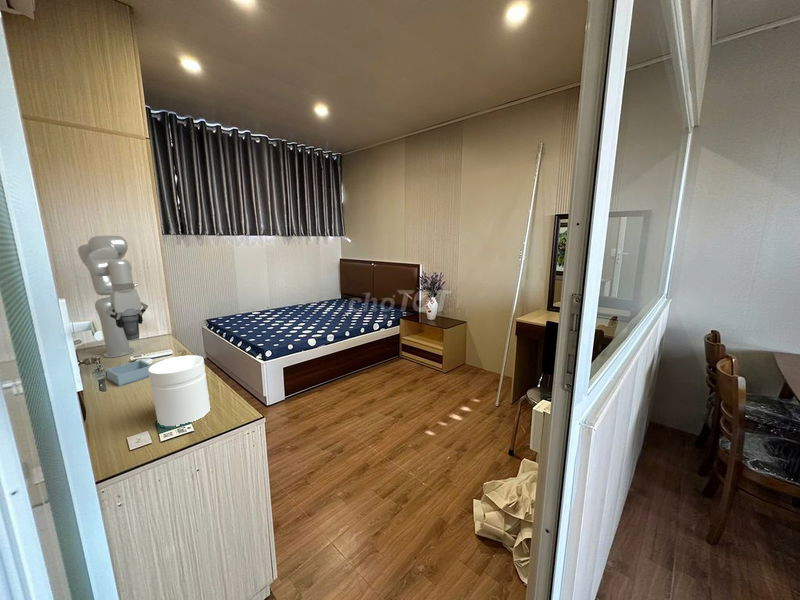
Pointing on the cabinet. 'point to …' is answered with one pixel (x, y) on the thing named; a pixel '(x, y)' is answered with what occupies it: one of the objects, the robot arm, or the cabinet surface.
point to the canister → (179, 390)
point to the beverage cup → (130, 324)
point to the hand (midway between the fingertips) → (130, 325)
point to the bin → (128, 373)
